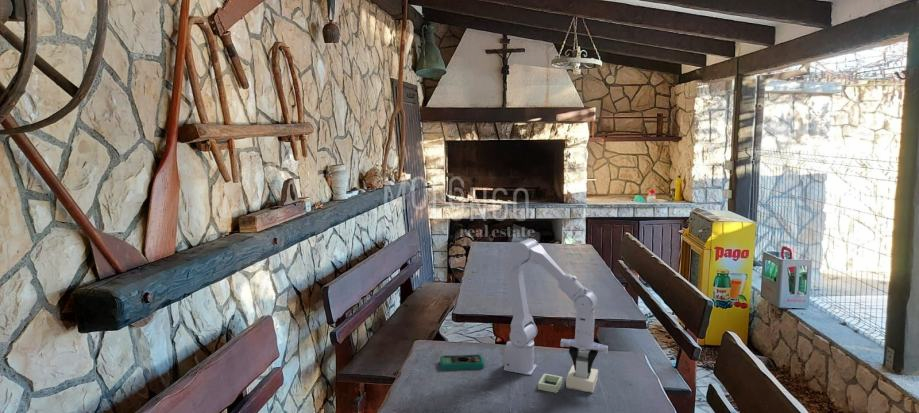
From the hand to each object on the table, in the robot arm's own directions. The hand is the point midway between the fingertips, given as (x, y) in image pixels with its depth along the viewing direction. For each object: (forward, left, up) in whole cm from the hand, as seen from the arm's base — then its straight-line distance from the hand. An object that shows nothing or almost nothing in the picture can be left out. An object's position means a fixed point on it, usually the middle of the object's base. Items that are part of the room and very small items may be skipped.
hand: (582, 370), depth 179 cm
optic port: (0, 0, -4) cm, 4 cm away
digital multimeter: (-40, -2, -5) cm, 41 cm away
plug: (0, 0, -3) cm, 3 cm away
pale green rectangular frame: (-9, -6, -4) cm, 11 cm away
